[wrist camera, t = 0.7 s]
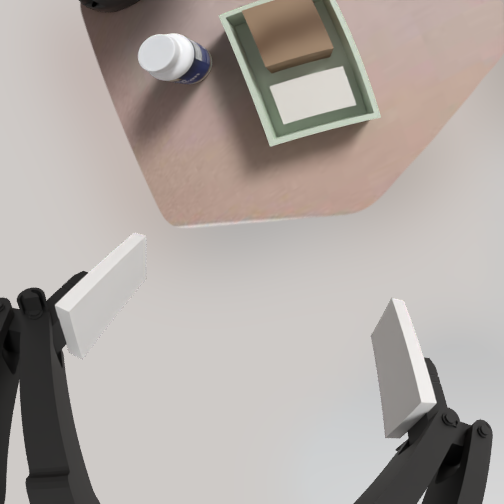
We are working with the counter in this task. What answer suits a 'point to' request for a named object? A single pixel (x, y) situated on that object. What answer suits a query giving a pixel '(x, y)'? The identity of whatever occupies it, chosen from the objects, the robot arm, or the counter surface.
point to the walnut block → (288, 33)
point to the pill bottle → (175, 58)
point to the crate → (263, 78)
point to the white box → (313, 94)
